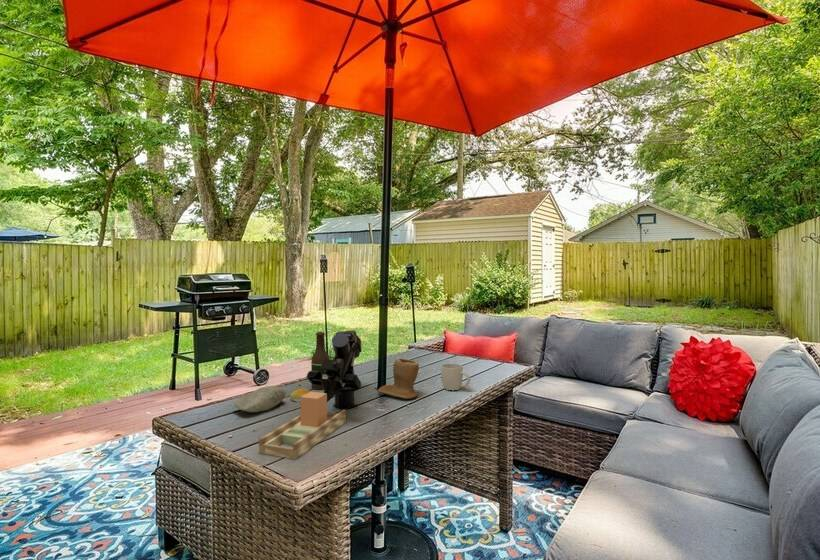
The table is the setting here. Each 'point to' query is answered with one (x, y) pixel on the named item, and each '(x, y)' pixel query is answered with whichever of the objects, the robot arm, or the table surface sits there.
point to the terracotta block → (313, 409)
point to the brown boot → (402, 379)
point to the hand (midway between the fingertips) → (325, 402)
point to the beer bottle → (319, 357)
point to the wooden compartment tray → (298, 436)
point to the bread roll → (299, 394)
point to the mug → (453, 376)
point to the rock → (261, 399)
